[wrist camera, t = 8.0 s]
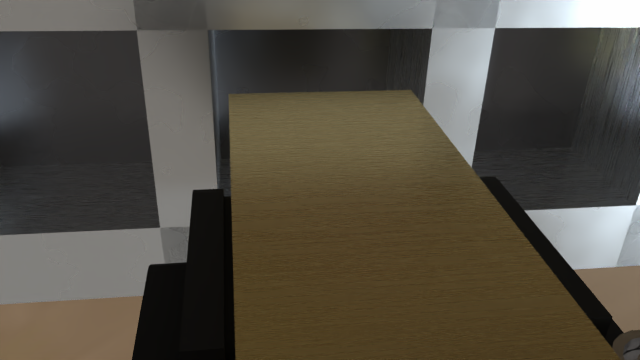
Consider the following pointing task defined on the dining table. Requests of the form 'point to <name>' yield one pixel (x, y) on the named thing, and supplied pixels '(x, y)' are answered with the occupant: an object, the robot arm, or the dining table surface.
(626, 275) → the dining table surface
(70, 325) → the dining table surface
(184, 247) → the grey compartment tray
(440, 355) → the peg
